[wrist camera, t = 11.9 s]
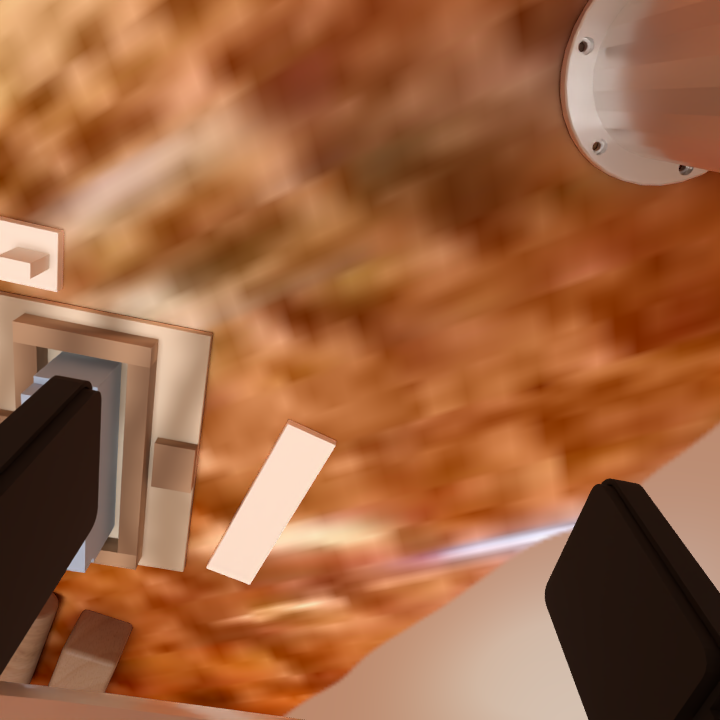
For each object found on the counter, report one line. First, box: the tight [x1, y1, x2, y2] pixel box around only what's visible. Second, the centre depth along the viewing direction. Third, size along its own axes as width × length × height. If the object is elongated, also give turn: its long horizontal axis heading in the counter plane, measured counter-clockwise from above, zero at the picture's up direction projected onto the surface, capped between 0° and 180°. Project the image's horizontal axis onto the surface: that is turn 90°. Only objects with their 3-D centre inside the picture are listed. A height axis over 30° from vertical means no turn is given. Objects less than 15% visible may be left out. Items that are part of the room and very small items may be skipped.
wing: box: [206, 420, 336, 585], centre depth 46 cm, size 4×16×1 cm, turn 152°
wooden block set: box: [0, 592, 132, 693], centre depth 51 cm, size 17×6×18 cm
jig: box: [0, 291, 213, 572], centre depth 43 cm, size 16×22×2 cm
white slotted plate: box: [0, 216, 64, 292], centre depth 36 cm, size 6×4×4 cm, turn 77°
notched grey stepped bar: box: [21, 351, 121, 573], centre depth 41 cm, size 16×4×6 cm, turn 168°
